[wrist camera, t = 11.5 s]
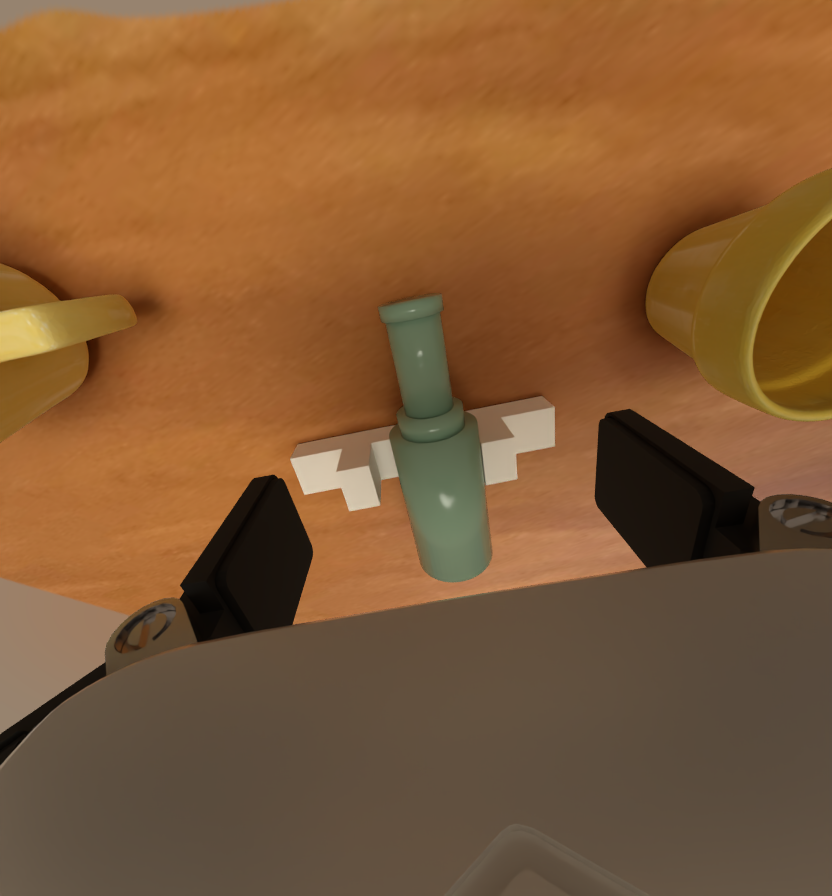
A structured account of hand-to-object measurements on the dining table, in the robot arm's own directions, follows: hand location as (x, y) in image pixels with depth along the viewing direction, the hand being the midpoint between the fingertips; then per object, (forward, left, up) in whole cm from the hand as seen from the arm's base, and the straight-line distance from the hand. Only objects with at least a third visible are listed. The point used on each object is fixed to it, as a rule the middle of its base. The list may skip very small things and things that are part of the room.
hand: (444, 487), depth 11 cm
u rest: (0, +6, -15) cm, 16 cm away
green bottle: (0, +13, -10) cm, 16 cm away
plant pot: (-19, -1, -15) cm, 24 cm away
